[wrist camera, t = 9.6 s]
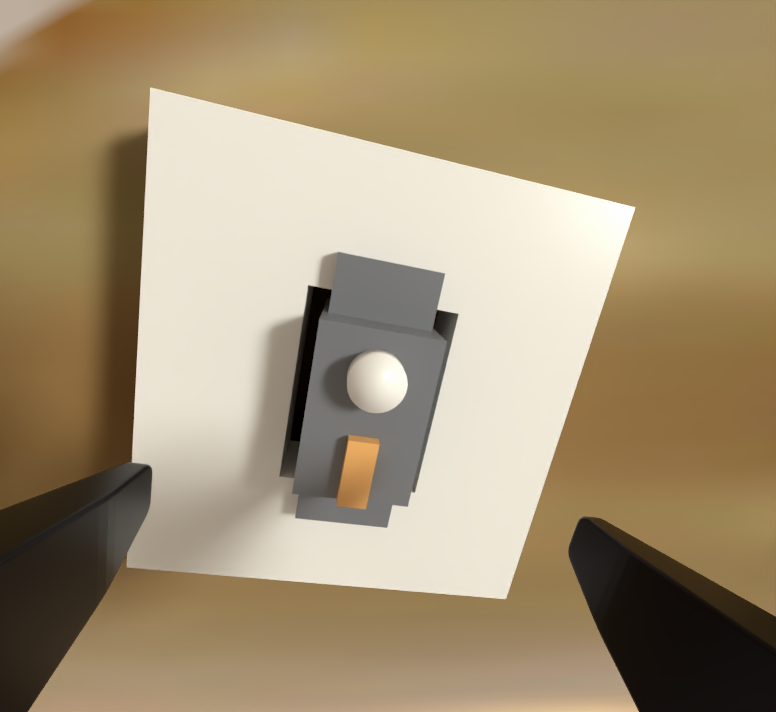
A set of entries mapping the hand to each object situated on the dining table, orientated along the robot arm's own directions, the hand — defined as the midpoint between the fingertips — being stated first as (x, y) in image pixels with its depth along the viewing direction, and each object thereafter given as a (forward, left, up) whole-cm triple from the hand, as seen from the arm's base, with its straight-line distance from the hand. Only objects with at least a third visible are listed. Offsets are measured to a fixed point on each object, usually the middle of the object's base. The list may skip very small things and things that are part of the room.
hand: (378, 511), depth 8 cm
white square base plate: (0, 0, -10) cm, 10 cm away
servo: (0, 0, -10) cm, 10 cm away
